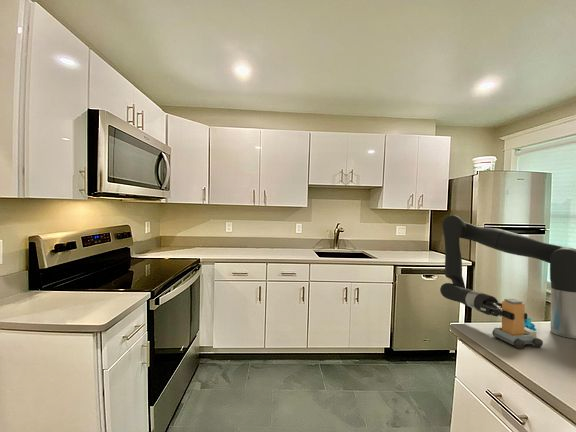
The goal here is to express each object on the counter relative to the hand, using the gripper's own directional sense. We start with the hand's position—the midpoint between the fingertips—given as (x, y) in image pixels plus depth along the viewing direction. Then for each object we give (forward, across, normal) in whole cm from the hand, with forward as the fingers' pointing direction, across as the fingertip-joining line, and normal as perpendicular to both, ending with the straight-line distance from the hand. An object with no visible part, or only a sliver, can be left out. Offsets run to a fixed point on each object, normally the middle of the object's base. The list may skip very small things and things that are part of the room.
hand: (520, 316), depth 102 cm
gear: (-13, +15, +10) cm, 22 cm away
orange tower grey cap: (-3, 0, +7) cm, 8 cm away
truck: (-3, +2, +10) cm, 11 cm away
